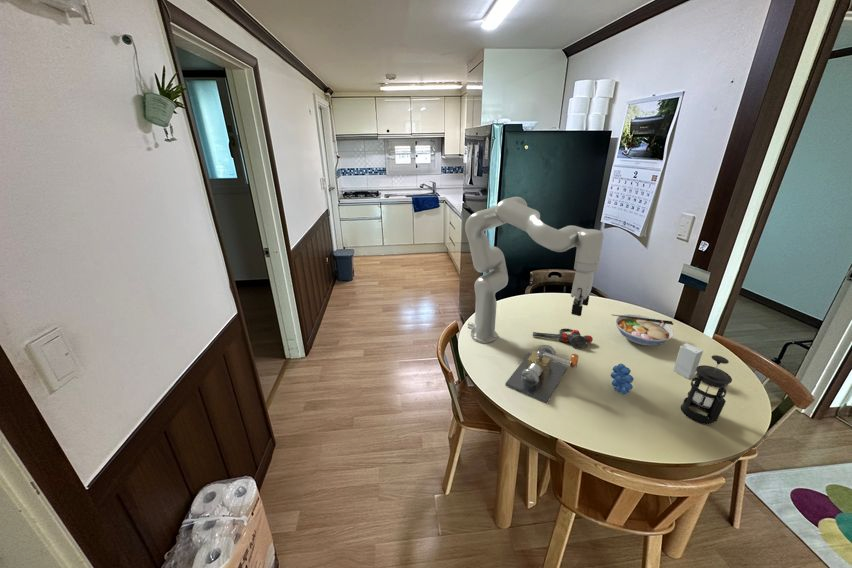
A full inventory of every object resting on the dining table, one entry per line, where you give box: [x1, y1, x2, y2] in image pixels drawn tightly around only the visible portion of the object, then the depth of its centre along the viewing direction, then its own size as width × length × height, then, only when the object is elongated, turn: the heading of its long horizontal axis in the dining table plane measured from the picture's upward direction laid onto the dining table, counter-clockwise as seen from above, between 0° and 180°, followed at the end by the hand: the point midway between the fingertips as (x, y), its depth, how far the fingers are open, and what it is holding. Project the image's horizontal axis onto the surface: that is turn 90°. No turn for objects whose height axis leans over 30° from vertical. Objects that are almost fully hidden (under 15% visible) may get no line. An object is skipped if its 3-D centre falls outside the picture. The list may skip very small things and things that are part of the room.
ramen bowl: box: [612, 313, 674, 346], centre depth 152 cm, size 25×23×8 cm
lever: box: [536, 349, 580, 369], centre depth 123 cm, size 15×3×5 cm, turn 53°
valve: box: [532, 328, 594, 349], centre depth 156 cm, size 6×26×15 cm
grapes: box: [610, 363, 634, 395], centre depth 121 cm, size 12×7×12 cm, turn 178°
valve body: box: [504, 344, 568, 404], centre depth 130 cm, size 16×24×10 cm, turn 143°
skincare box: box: [672, 343, 704, 380], centre depth 130 cm, size 6×4×12 cm
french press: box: [680, 354, 733, 425], centre depth 108 cm, size 12×9×23 cm
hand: (579, 309), depth 121 cm, fingers open, 9 cm apart
